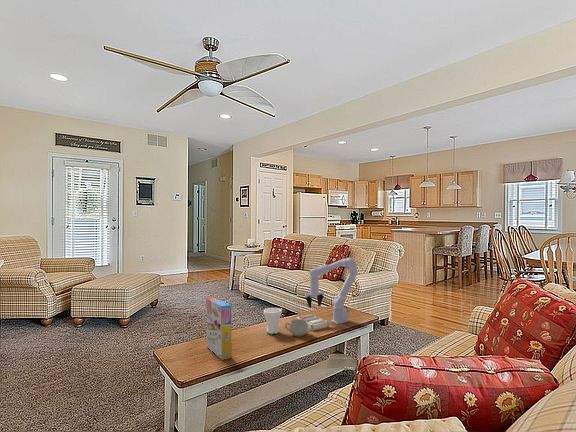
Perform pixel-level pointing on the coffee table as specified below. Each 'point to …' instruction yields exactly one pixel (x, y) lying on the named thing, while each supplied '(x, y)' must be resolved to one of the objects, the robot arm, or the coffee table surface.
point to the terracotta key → (306, 316)
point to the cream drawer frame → (317, 325)
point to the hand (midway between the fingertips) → (314, 306)
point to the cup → (272, 320)
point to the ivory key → (316, 321)
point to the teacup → (298, 327)
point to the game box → (219, 327)
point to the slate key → (311, 318)
